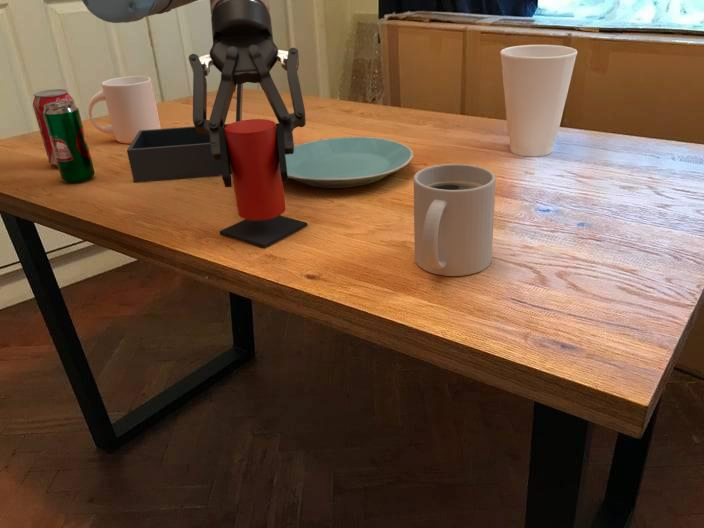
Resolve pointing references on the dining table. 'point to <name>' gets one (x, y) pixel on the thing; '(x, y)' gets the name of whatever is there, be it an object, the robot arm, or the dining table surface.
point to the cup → (535, 95)
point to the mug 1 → (127, 107)
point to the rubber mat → (263, 230)
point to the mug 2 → (454, 218)
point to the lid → (239, 102)
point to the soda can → (68, 141)
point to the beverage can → (38, 106)
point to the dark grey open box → (172, 155)
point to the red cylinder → (255, 168)
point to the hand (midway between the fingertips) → (255, 179)
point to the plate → (346, 161)
